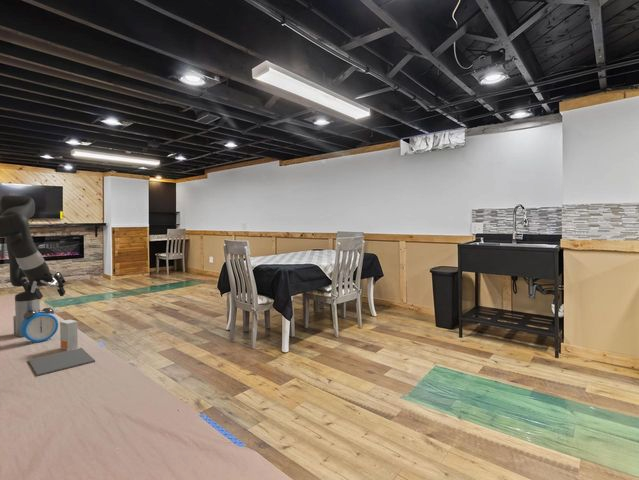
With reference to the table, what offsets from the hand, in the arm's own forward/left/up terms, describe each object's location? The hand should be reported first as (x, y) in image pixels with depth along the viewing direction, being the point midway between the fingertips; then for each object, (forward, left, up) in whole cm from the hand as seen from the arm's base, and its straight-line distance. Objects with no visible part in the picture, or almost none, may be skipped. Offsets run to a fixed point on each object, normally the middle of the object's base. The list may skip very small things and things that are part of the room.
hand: (51, 296), depth 140 cm
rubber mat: (+5, -3, -25) cm, 26 cm away
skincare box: (-2, +12, -26) cm, 28 cm away
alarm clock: (-22, +22, -26) cm, 40 cm away
